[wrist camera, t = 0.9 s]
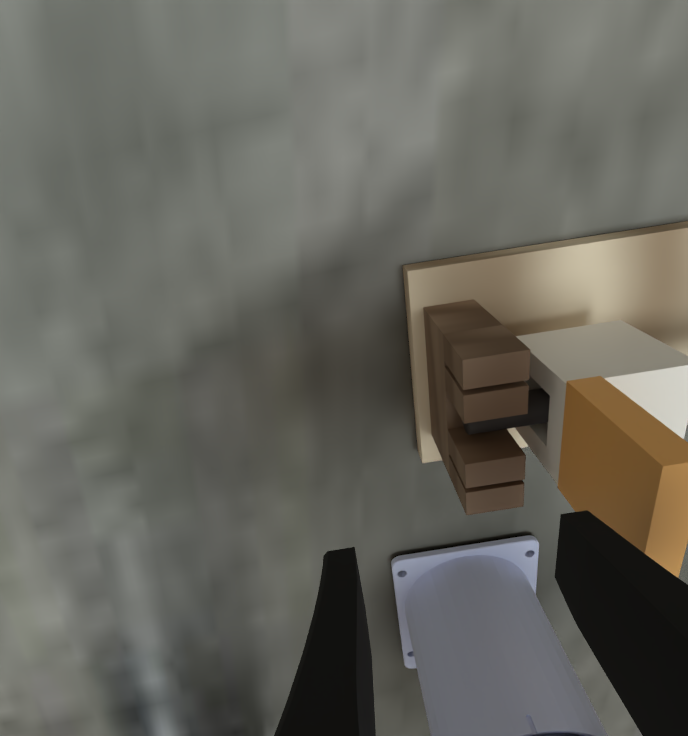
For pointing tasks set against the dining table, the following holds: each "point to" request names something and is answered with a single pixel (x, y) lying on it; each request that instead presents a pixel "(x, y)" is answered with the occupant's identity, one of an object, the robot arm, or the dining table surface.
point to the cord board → (511, 356)
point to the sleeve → (616, 431)
